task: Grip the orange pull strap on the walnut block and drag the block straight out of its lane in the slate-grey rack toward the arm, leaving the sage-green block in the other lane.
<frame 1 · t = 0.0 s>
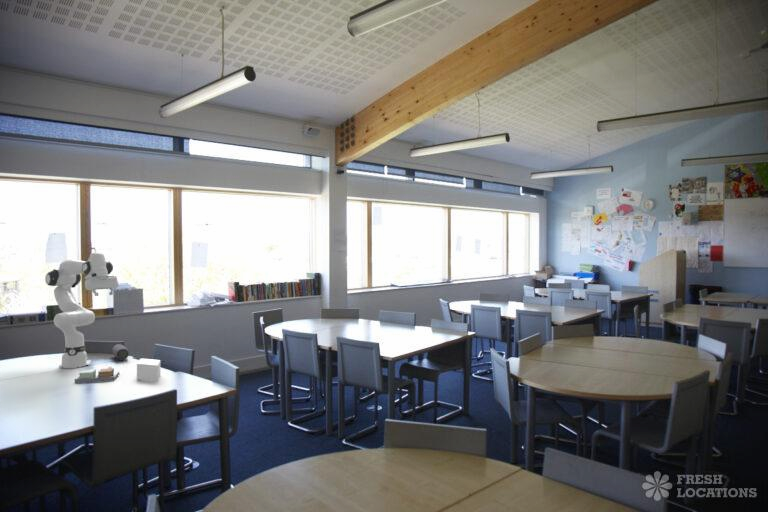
hand: (104, 295, 314), 52 cm above the table, tool tilted 20°, fingers open, 8 cm apart
lane rack: (98, 378, 300), on the table
sage block: (87, 380, 296), resting in lane rack
white rectangular box: (148, 377, 304), on the table
walnut block: (106, 379, 299), resting in lane rack
bluetooth speaker: (120, 359, 358), on the table
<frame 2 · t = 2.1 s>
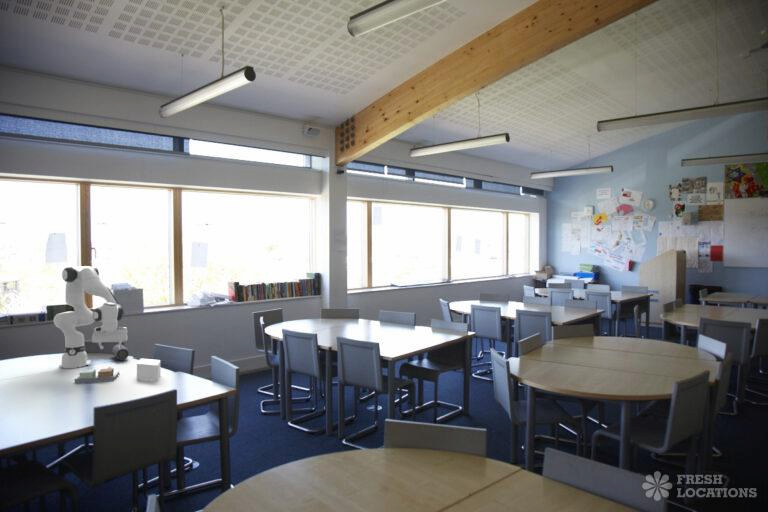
hand: (109, 348, 308), 18 cm above the table, tool pointing down, fingers open, 8 cm apart
nothing on the table moved.
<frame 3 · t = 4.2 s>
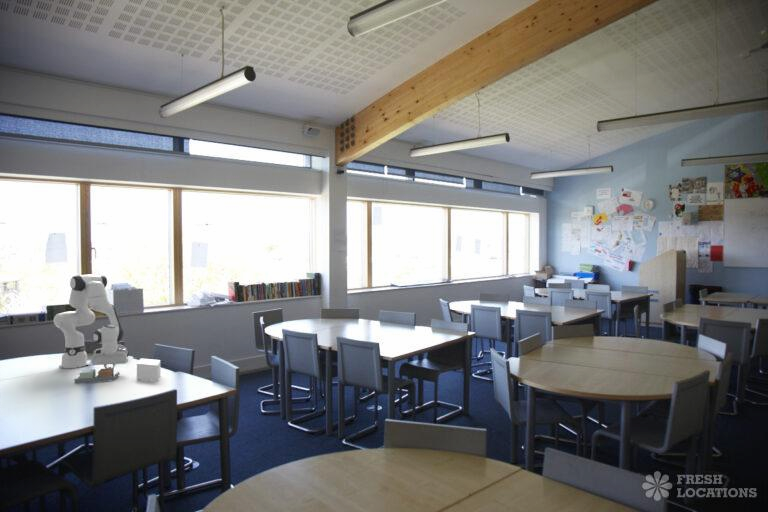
hand: (109, 370, 308), 3 cm above the table, tool pointing down, fingers closed on walnut block
walnut block: (106, 379, 299), resting in lane rack, touching gripper
everything else where it was.
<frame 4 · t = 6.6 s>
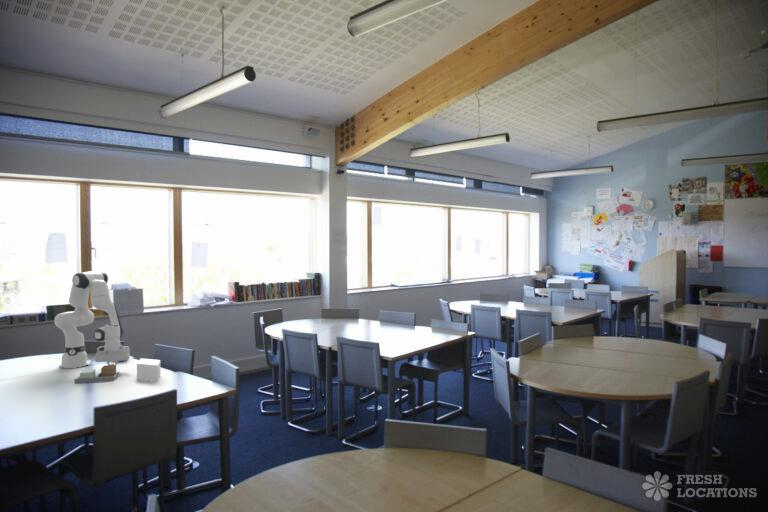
hand: (112, 367, 317), 3 cm above the table, tool pointing down, fingers closed on walnut block
walnut block: (108, 375, 307), on the table, touching gripper
everything else where it was.
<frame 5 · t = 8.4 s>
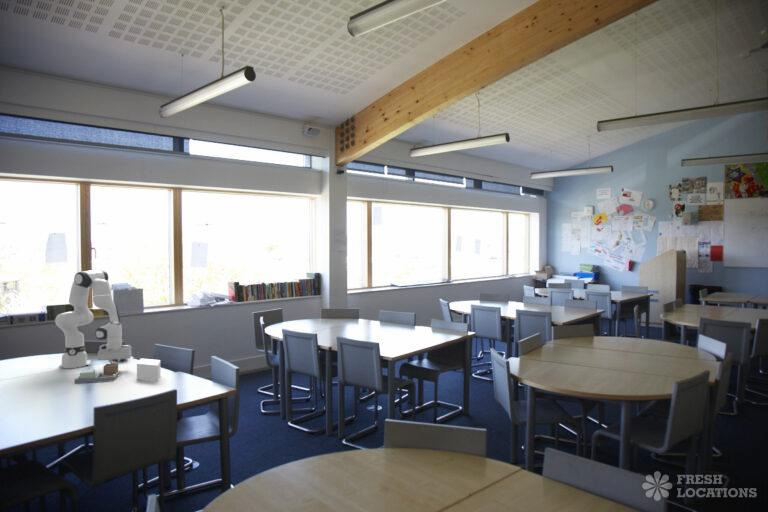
hand: (114, 365, 323), 3 cm above the table, tool pointing down, fingers closed on walnut block
walnut block: (110, 373, 313), on the table, touching gripper
everything else where it was.
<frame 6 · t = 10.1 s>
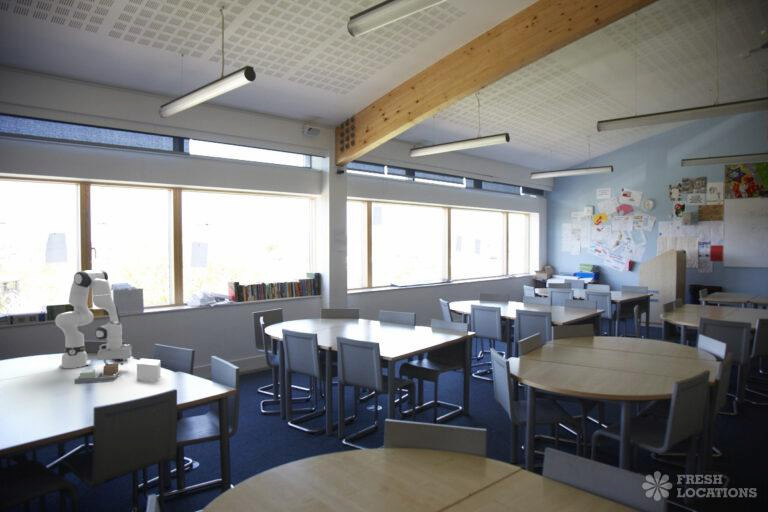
hand: (114, 365, 323), 3 cm above the table, tool pointing down, fingers open, 8 cm apart
walnut block: (110, 374, 313), on the table
everything else where it was.
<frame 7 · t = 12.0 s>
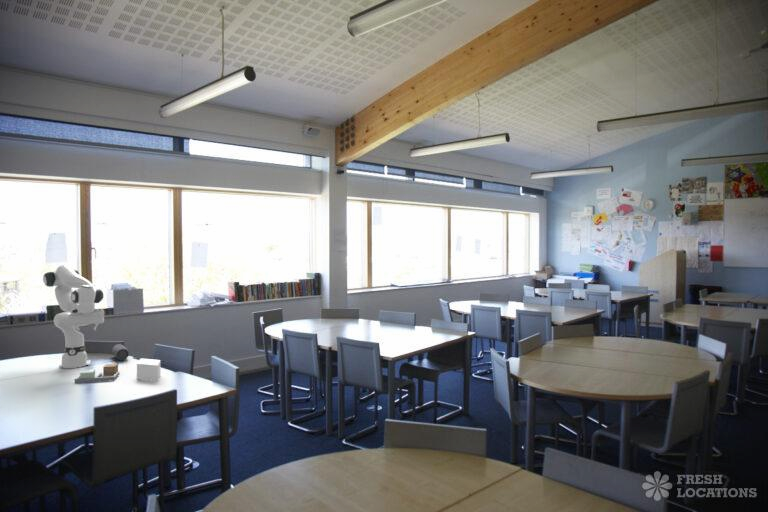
hand: (86, 330, 311), 29 cm above the table, tool pointing down, fingers open, 8 cm apart
nothing on the table moved.
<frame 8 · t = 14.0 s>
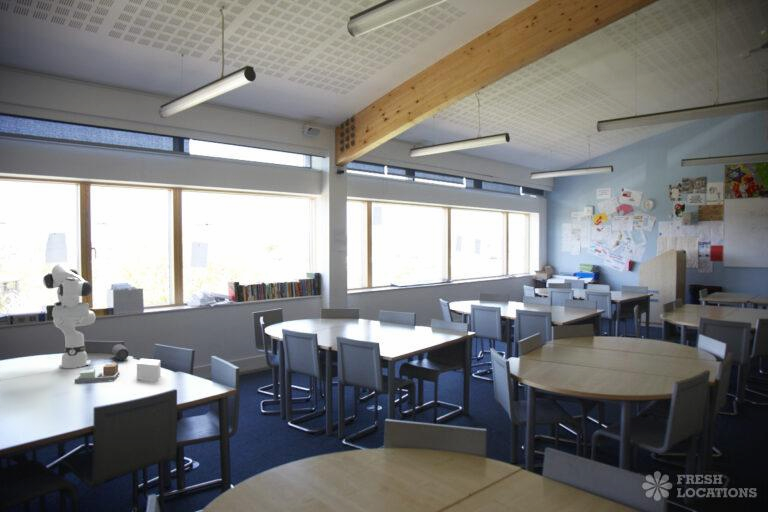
hand: (70, 324, 305), 34 cm above the table, tool pointing down, fingers open, 8 cm apart
nothing on the table moved.
at the end: walnut block inside the target area (4.5 cm from its centre), on the table; walnut block tilted 0°; sage block moved 0.2 cm from its start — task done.
